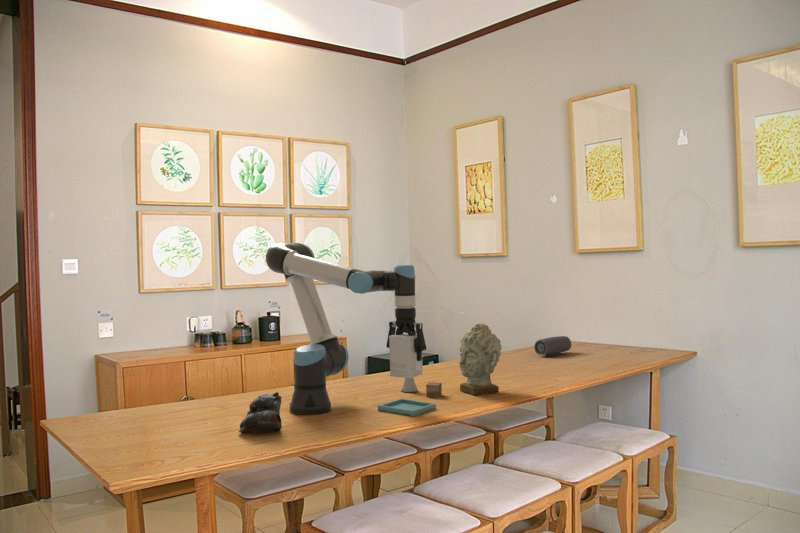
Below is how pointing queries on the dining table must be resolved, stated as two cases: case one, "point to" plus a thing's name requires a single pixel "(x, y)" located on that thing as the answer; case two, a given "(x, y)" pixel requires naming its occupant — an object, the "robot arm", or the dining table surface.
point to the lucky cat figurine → (263, 414)
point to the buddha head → (479, 360)
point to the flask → (409, 385)
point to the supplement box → (403, 356)
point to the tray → (407, 407)
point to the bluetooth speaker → (552, 345)
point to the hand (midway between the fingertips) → (406, 368)
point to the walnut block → (433, 389)
